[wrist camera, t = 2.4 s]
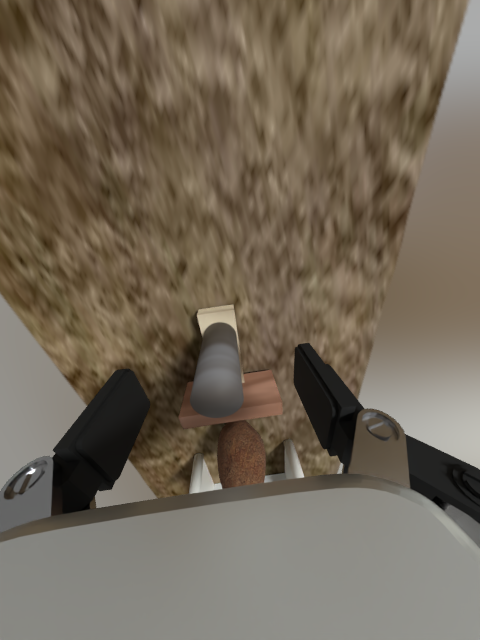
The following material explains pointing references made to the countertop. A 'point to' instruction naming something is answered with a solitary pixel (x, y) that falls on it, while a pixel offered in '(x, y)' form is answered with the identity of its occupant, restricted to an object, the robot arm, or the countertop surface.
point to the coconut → (240, 455)
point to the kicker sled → (225, 378)
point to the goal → (293, 470)
